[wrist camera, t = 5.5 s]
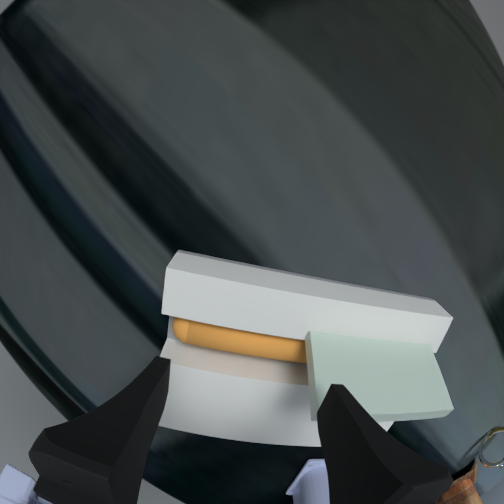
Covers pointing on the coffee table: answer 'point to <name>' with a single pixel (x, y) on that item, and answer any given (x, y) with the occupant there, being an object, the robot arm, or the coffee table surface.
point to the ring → (488, 435)
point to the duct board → (278, 324)
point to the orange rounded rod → (239, 341)
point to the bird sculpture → (462, 490)
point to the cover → (377, 376)
